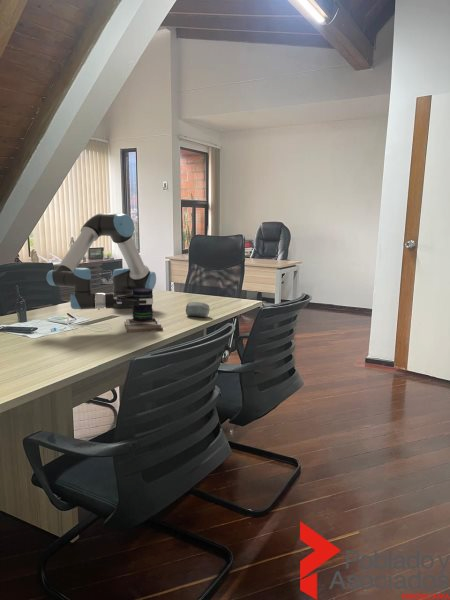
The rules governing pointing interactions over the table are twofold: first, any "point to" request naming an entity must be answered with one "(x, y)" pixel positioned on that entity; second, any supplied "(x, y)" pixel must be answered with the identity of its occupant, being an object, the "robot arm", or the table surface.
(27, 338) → the table surface
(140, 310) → the rusty blue barrel
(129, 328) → the cradle plate
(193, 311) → the spool
